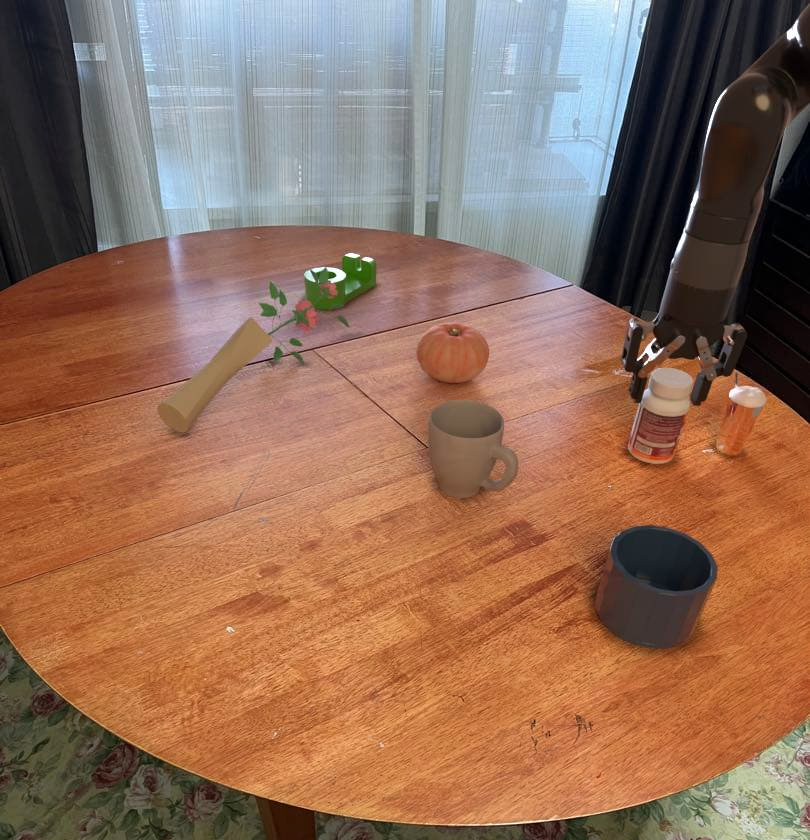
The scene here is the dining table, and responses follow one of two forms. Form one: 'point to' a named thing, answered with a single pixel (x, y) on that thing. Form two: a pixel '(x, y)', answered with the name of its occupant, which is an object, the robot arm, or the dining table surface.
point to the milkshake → (739, 417)
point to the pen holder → (655, 586)
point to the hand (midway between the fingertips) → (665, 401)
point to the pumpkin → (452, 352)
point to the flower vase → (240, 356)
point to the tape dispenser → (342, 281)
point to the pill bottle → (661, 416)
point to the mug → (468, 448)
